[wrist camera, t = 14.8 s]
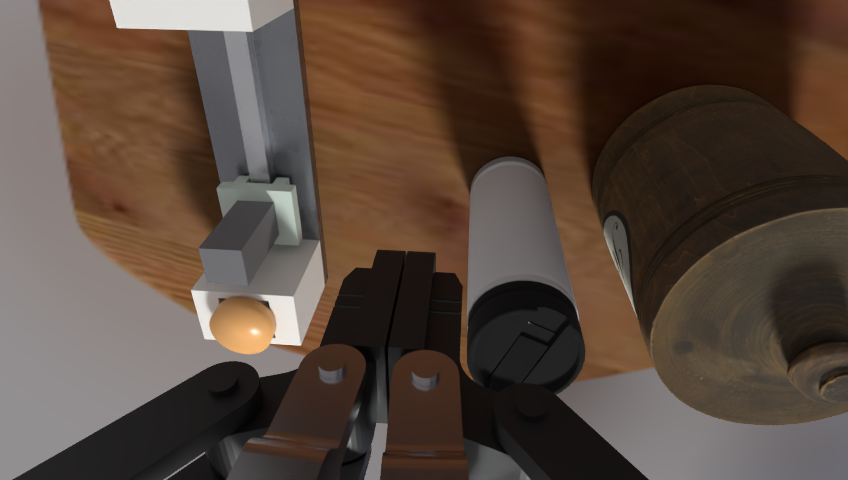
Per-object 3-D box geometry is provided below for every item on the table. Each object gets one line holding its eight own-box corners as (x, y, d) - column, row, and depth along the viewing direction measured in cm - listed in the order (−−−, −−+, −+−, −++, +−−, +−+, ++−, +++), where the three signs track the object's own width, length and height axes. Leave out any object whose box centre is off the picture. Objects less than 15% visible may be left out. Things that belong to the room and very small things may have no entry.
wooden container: (553, 204, 45) (606, 417, 26) (682, 44, 37) (883, 184, 19) (690, 281, 48) (826, 522, 29) (835, 147, 40) (1141, 356, 22)
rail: (176, -62, 36) (158, -59, 34) (291, -60, 36) (280, -57, 34) (246, 273, 51) (236, 288, 49) (327, 277, 51) (321, 293, 49)
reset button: (238, 252, 46) (203, 304, 40) (294, 255, 45) (266, 308, 39) (248, 296, 48) (216, 351, 42) (300, 300, 48) (275, 356, 42)
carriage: (228, 174, 44) (173, 234, 36) (299, 178, 44) (260, 239, 36) (239, 227, 47) (190, 293, 39) (306, 230, 46) (271, 298, 38)
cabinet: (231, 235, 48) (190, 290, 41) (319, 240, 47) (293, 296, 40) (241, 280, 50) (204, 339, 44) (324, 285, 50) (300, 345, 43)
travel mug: (455, 208, 46) (442, 386, 29) (492, 142, 42) (502, 301, 25) (520, 236, 47) (544, 425, 30) (561, 174, 43) (614, 349, 26)
